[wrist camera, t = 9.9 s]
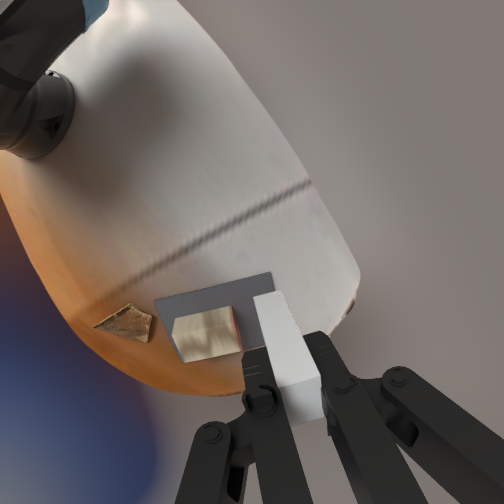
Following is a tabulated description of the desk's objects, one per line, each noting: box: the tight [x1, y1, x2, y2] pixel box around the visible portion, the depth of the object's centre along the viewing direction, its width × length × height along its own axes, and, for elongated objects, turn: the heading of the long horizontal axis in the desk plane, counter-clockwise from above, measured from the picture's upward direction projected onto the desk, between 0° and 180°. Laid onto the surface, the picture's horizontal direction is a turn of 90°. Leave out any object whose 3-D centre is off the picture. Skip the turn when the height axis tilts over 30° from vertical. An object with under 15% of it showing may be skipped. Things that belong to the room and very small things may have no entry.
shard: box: [93, 302, 152, 343], centre depth 45 cm, size 11×8×2 cm
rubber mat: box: [154, 272, 274, 363], centre depth 47 cm, size 14×20×1 cm
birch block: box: [172, 306, 243, 363], centre depth 45 cm, size 6×5×10 cm
